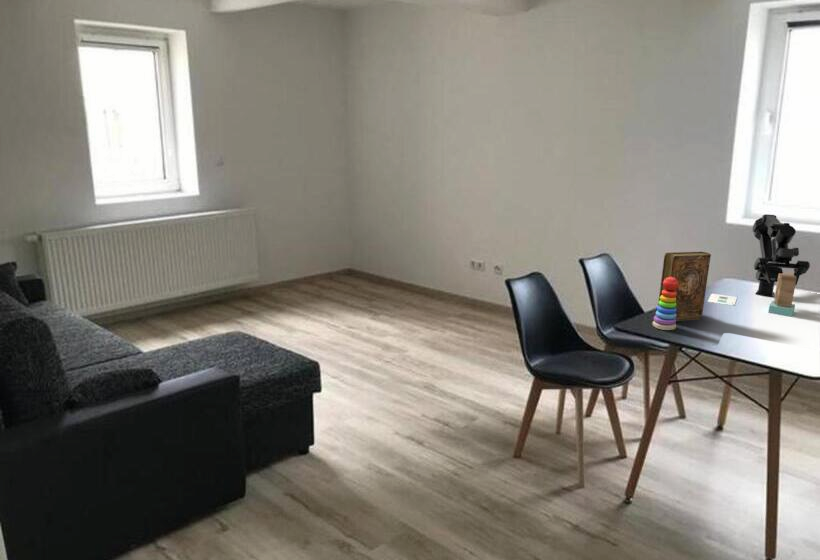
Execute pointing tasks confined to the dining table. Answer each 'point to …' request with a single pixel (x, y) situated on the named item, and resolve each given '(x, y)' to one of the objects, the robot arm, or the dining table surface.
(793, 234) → the robot arm
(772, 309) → the base brick
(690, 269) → the book
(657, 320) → the stacking toy
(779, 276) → the column brick
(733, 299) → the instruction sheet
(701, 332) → the dining table surface
